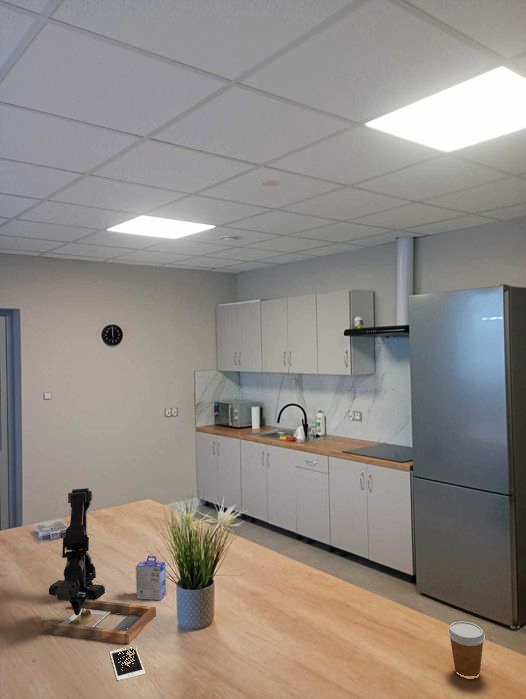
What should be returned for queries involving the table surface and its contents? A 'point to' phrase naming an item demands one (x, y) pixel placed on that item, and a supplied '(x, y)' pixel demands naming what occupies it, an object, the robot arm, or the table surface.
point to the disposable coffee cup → (466, 647)
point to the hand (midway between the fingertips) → (77, 614)
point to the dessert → (86, 616)
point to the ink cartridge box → (151, 579)
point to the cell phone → (127, 671)
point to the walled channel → (120, 633)
